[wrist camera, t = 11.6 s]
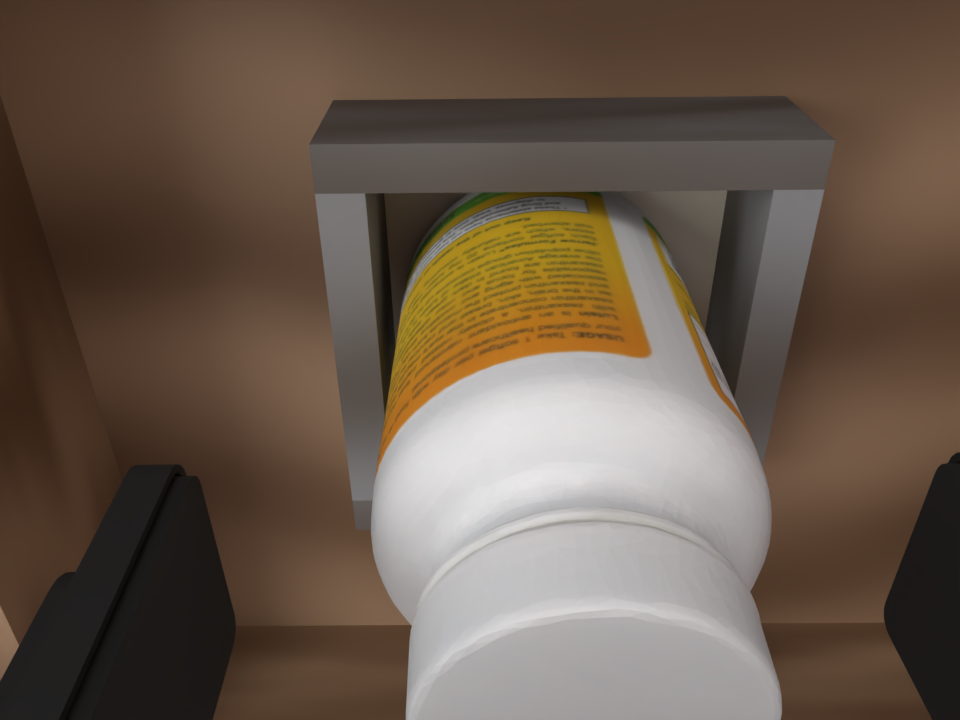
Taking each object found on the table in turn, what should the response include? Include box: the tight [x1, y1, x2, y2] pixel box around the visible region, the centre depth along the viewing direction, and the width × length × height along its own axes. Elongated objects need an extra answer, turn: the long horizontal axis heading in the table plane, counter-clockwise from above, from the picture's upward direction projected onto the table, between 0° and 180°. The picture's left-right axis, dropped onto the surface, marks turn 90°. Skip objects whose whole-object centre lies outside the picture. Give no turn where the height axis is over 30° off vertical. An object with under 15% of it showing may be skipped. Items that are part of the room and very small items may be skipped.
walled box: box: [0, 0, 960, 720], centre depth 15 cm, size 22×22×6 cm
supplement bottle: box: [371, 191, 782, 720], centre depth 13 cm, size 5×5×10 cm
